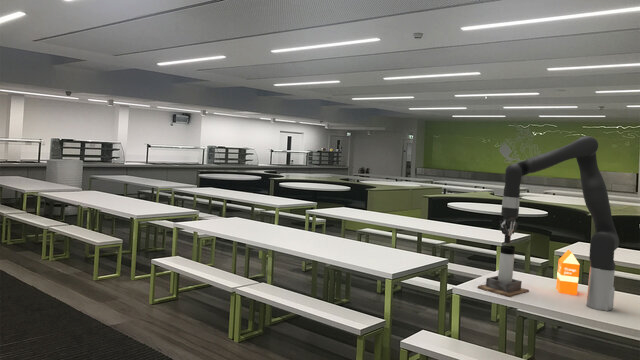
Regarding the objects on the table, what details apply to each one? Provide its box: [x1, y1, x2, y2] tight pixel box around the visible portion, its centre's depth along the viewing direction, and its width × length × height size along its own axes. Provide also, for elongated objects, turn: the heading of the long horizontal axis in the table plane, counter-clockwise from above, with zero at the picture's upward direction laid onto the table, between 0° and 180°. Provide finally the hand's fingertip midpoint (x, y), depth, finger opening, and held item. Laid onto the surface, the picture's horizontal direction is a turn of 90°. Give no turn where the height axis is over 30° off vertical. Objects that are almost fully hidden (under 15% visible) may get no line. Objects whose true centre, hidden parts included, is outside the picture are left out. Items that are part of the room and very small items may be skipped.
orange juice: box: [555, 249, 581, 296], centre depth 226 cm, size 8×9×20 cm
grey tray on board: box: [477, 275, 530, 298], centre depth 221 cm, size 16×18×5 cm
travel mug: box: [497, 245, 516, 283], centre depth 221 cm, size 6×7×20 cm
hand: (507, 243), depth 220 cm, fingers closed
